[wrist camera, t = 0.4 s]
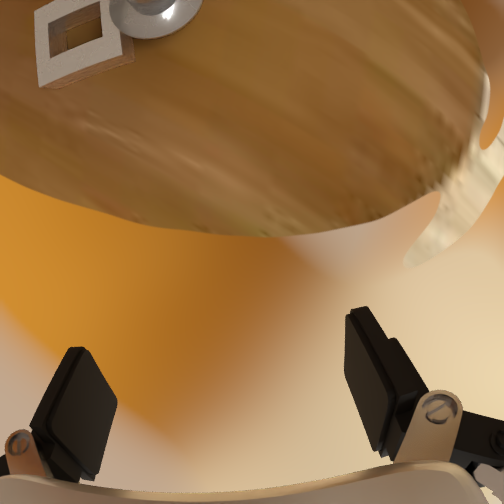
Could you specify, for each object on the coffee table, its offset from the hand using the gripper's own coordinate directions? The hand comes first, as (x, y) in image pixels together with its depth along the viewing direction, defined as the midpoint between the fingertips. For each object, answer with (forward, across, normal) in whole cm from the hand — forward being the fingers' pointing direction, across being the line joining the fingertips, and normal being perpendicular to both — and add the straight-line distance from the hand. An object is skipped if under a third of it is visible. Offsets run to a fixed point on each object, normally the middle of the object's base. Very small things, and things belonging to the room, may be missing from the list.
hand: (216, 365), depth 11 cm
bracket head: (+30, +9, -23) cm, 39 cm away
